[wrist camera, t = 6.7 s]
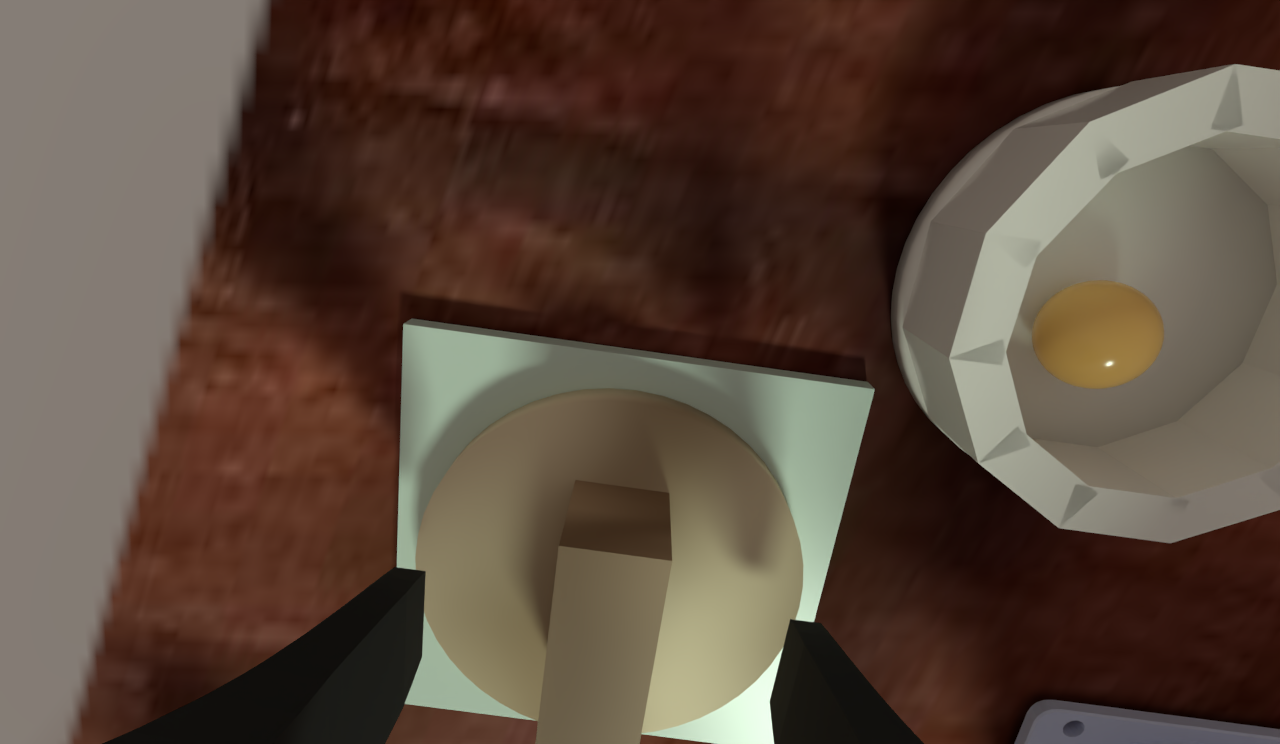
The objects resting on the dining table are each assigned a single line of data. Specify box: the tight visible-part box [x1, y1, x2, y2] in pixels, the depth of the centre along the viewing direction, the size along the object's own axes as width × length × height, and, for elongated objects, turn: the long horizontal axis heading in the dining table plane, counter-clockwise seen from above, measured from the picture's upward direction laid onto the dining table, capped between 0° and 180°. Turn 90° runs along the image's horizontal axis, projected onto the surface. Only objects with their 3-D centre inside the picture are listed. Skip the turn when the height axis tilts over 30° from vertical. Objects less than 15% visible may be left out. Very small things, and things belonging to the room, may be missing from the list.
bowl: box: [891, 64, 1280, 543], centre depth 12 cm, size 8×8×3 cm
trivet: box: [397, 319, 875, 744], centre depth 16 cm, size 10×10×1 cm
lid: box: [415, 388, 803, 744], centre depth 14 cm, size 9×9×3 cm
